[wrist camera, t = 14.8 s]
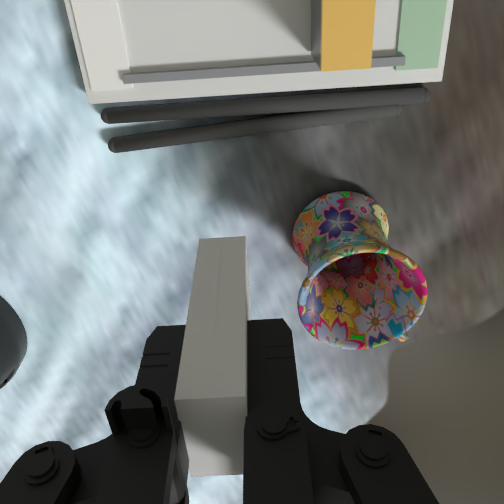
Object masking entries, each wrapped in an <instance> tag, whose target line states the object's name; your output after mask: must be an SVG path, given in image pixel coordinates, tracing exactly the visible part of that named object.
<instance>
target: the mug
mask: <svg viewBox="0 0 504 504" xmlns="http://www.w3.org/2000/svg"><path fill="white" fill-rule="evenodd" d="M388 232H389V226H388V220H387V217H386V214H385V212H384V211H383V209H382V208H381V207H380V205H379V204H378V203H377V202H375V201H374V200H373V199H371V198H370V197H368V196H366V195H363V194H361V193H357V192H351V191H339V192H333V193H329V194H326V195H323V196H321V197H319V198H317V199H316V200H314V201H313V202H311V203H310V204H309V205H308V206H306V207H305V208H304V210H303V211H302V212H301V213H300V215H299V216H298V218H297V220H296V223H295V225H294V229H293V245H294V249H295V251H296V253H297V255H298V257H299V258H300V259H301V261H302V262H303V263H304V264H305V265H307V266H308V274H307V277H306V278H305V280H304V281H303V283H302V286H301V288H300V291H299V295H298V302H297V305H298V313H299V317H300V319H301V322H302V323H303V325H304V327H305V328H306V329H307V331H308V332H309V333H310V334H311V335H312V336H314V337H315V338H316V339H318V340H319V341H321V342H323V343H325V344H327V345H330V346H333V347H337V348H342V349H352V350H357V349H368V348H373V347H377V346H380V345H383V344H386V343H388V342H390V341H392V340H394V339H397V340H399V341H401V342H403V341H405V340H407V339H408V338H409V335H408V332H407V330H409V329H410V328H411V327H412V326H413V325H414V324H415V322H416V321H417V320H418V318H419V317H420V315H421V314H422V312H423V310H424V307H425V304H426V300H427V283H426V279H425V277H424V275H423V273H422V271H421V269H420V268H419V266H418V265H417V264H416V263H415V262H414V261H413V260H412V259H411V258H409V257H408V256H406V255H405V254H403V253H401V252H399V251H396V250H394V249H392V248H391V247H390V246H389V245H388V243H387V238H388Z"/></svg>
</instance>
